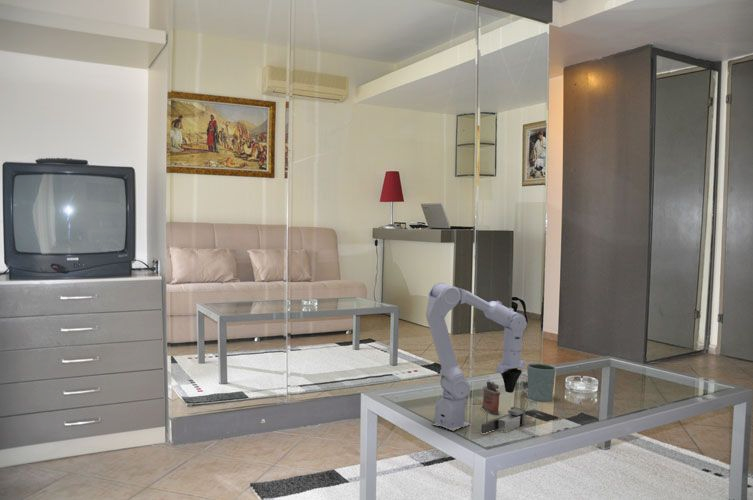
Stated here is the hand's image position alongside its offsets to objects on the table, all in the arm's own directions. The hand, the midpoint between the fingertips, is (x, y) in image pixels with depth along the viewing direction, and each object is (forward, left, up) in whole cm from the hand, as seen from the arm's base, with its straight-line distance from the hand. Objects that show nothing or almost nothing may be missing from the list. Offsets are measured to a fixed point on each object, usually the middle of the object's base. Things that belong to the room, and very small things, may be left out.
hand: (509, 392), depth 193 cm
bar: (-5, -3, -10) cm, 11 cm away
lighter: (+6, +10, -10) cm, 15 cm away
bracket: (-7, -2, -10) cm, 12 cm away
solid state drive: (+16, -3, -10) cm, 19 cm away
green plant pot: (+35, +7, -10) cm, 37 cm away
